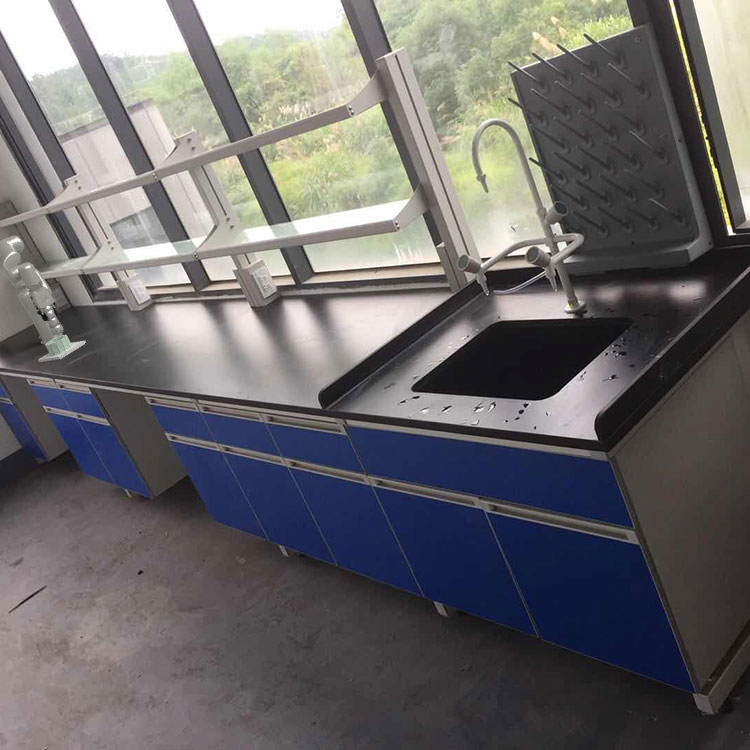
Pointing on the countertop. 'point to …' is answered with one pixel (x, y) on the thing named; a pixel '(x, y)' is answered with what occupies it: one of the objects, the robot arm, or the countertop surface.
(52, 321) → the plastic bottle
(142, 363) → the countertop surface
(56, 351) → the bottle stand
